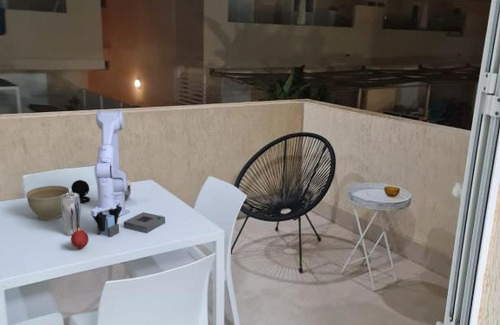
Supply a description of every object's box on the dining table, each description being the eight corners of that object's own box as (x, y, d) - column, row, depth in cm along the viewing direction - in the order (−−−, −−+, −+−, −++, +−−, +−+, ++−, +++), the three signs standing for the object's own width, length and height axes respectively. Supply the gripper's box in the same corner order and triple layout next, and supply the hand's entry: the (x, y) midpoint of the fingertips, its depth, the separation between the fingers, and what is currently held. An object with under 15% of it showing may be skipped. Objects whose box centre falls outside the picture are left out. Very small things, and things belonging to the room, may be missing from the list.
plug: (101, 234, 179) (100, 217, 177) (108, 231, 182) (107, 214, 180) (108, 236, 177) (107, 218, 175) (115, 232, 180) (114, 215, 178)
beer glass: (86, 231, 181) (83, 193, 178) (74, 237, 175) (71, 199, 171) (71, 228, 184) (68, 191, 180) (59, 235, 177) (55, 197, 173)
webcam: (92, 198, 218) (90, 177, 215) (87, 204, 210) (86, 182, 208) (75, 198, 217) (73, 177, 215) (70, 204, 210) (68, 182, 208)
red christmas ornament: (74, 245, 169) (72, 224, 167) (91, 245, 169) (89, 224, 167) (69, 252, 163) (67, 231, 161) (86, 252, 163) (85, 231, 161)
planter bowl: (19, 220, 191) (16, 194, 188) (50, 207, 205) (47, 183, 203) (50, 226, 185) (48, 200, 182) (79, 213, 200) (77, 188, 197)
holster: (97, 234, 179) (96, 225, 178) (106, 229, 183) (106, 221, 182) (110, 237, 176) (109, 228, 175) (119, 232, 180) (118, 224, 179)
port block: (123, 227, 185) (123, 220, 184) (143, 218, 195) (143, 210, 195) (146, 233, 180) (146, 225, 179) (165, 222, 191) (165, 215, 190)
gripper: (100, 201, 167) (102, 236, 171) (127, 190, 180) (129, 223, 184) (85, 198, 170) (87, 233, 174) (113, 187, 183) (115, 220, 187)
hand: (108, 228), depth 179 cm, fingers open, 6 cm apart
